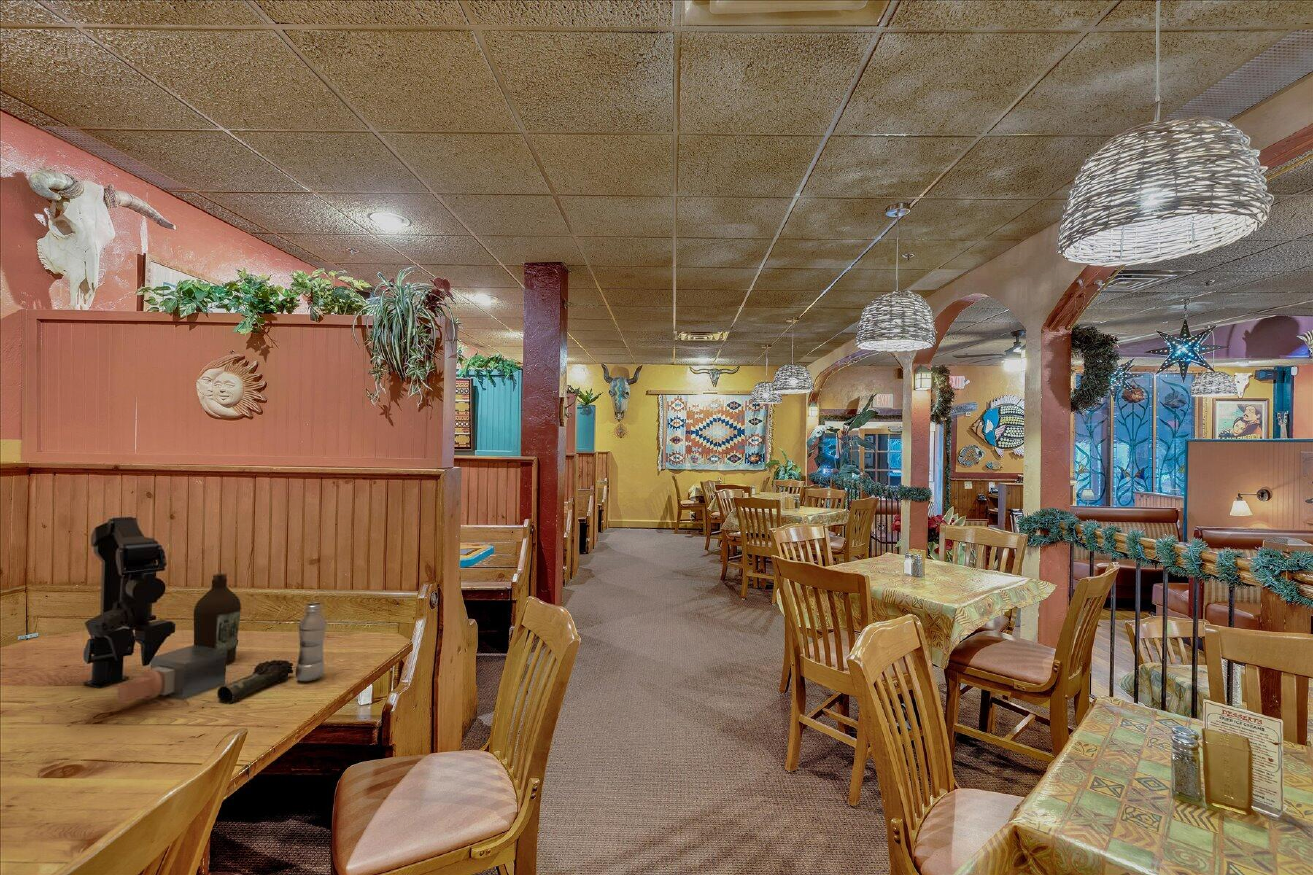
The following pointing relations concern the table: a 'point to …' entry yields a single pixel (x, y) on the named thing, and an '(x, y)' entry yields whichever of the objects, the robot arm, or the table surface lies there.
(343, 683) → the table surface
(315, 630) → the plastic bottle
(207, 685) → the housing
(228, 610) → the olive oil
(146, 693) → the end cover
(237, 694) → the metal pipe
